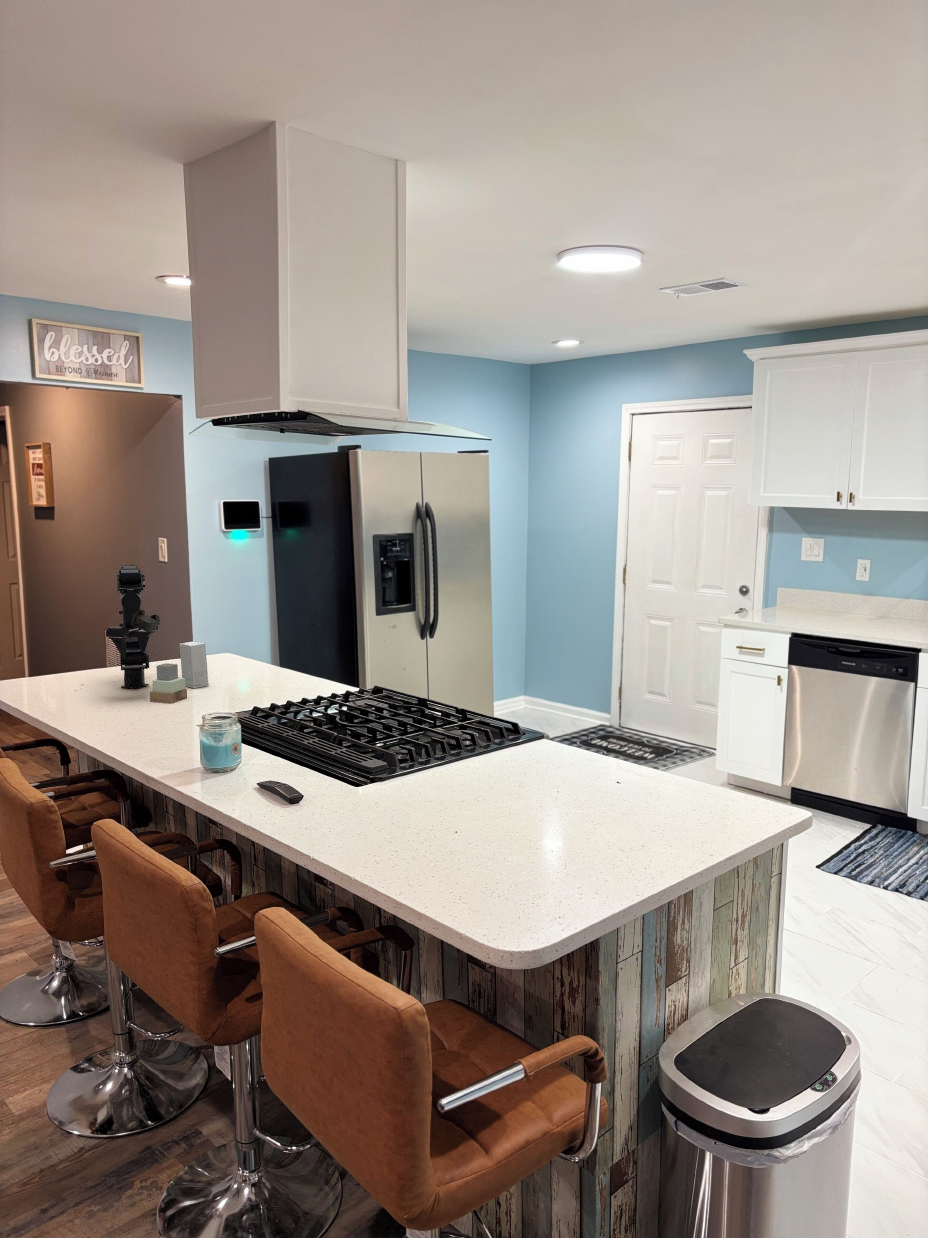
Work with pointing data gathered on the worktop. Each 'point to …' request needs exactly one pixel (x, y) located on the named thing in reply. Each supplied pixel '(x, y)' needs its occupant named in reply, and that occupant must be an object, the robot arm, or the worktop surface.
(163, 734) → the worktop surface
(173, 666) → the cube
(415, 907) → the worktop surface
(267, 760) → the worktop surface
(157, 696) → the base block
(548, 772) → the worktop surface
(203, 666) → the skincare box
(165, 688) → the top block
